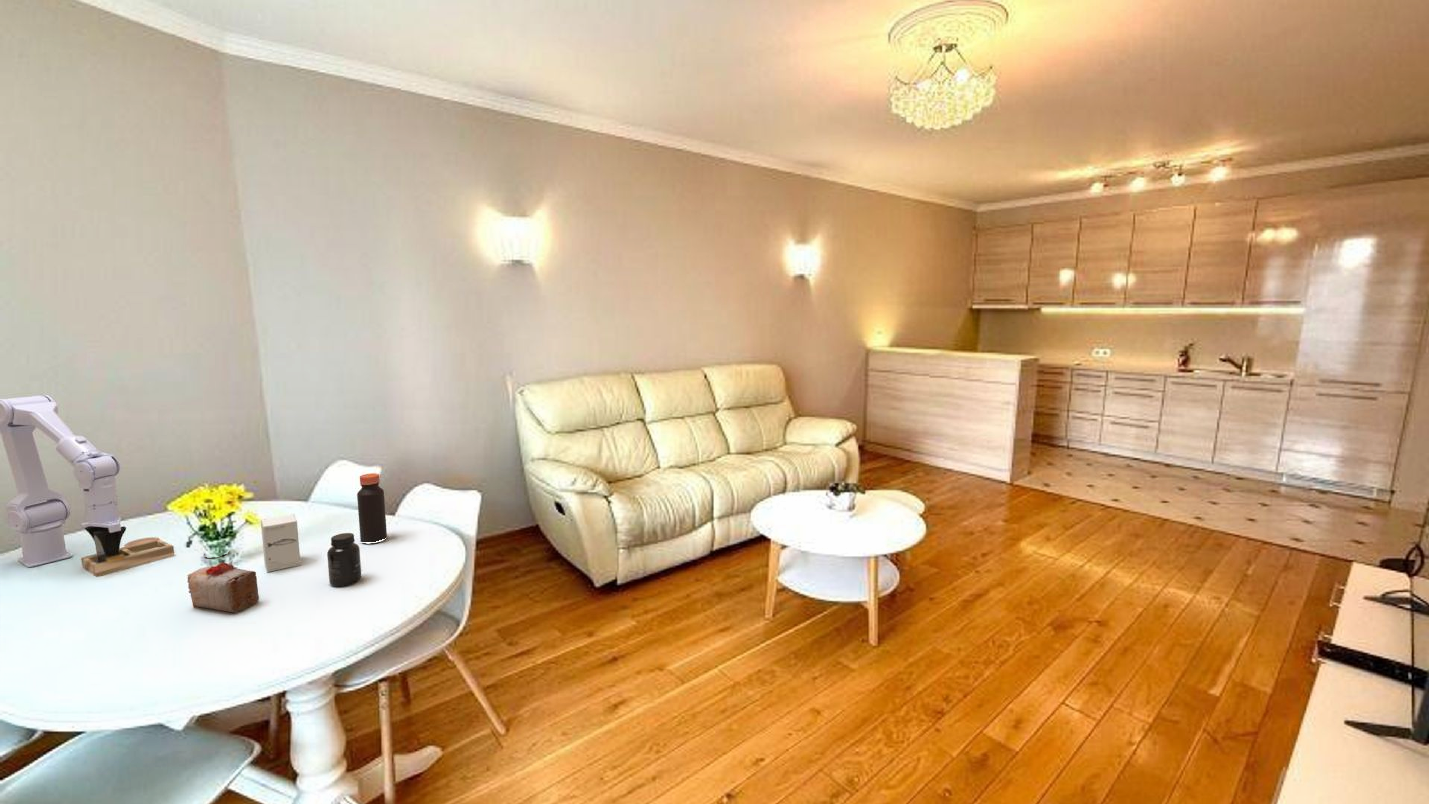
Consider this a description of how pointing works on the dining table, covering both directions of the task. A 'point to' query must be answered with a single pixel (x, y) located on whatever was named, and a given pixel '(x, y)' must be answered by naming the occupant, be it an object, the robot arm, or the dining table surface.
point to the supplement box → (280, 542)
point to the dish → (139, 541)
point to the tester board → (129, 557)
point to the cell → (101, 551)
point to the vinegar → (371, 509)
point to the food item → (223, 588)
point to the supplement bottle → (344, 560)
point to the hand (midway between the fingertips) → (108, 552)
